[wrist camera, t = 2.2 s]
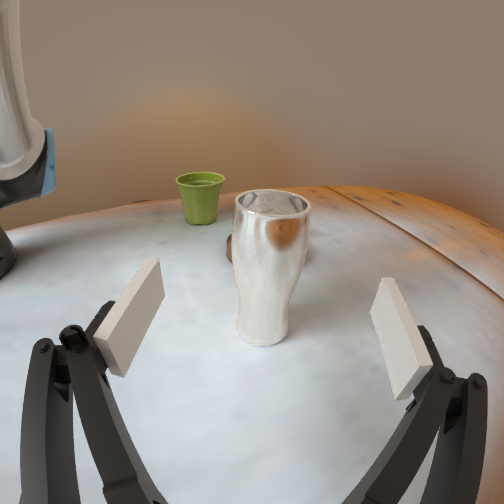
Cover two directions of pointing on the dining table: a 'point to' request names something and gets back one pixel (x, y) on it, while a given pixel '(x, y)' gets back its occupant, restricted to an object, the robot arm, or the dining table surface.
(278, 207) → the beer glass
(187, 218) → the plant pot
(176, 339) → the dining table surface
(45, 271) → the dining table surface
